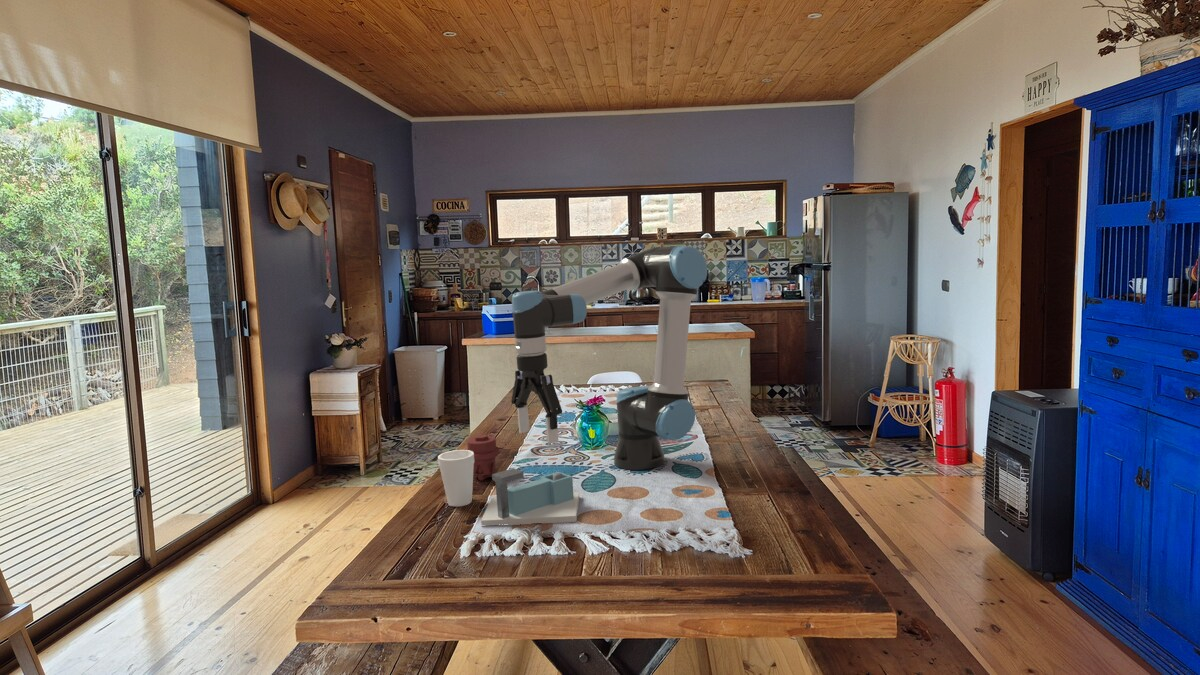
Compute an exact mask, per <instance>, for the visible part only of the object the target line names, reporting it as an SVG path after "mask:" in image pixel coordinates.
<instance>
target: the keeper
mask: <svg viewBox="0 0 1200 675" xmlns="http://www.w3.org/2000/svg"><path fill="white" fill-rule="evenodd" d="M491 478H492V481H493V482H495V493H496V495H495V496H497V508H498V517H500V518H502V519H504V518H507V517H510V516H509V503H508V490H507V489H508V483H511V482H514V481H518V480H522V479H524V471H521V470H519V469H516V468H509V469H506V470H503V471H499V472H495V474H492V476H491Z"/></svg>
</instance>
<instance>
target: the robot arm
mask: <svg viewBox="0 0 1200 675" xmlns="http://www.w3.org/2000/svg"><path fill="white" fill-rule="evenodd" d="M707 277H708V265H707V261H706V258H705V256H703V254H702V252H701V251H700V250H699V249H697V248H696V247H693V246H690V245H687V246H686V245H674V246H655V247H650V248H648V249H646V250H643V251H641V252H638V253H635V254H633V255H631V256H629V257H626V258H623V259H621V260H620V261H619V264H616V265H613V266H611V267H607V268H606V269H602V270H599V271H597V272H595V273H592V274H588V275H585V276H583V277H580V278H577V279H575V280H572V281H569V282H567V283H564V284H561V285H558V286H554V287H551V288H550V289H547V290H544V291H540V290H524V291H517V292H514V293H513V295H512V297H511V312H512V319H513V320H512V321H513V332H514V340H515V342H514V346H515V352H516V354H517V355H516V367H517V370H515V372H514V384H513V390H512V394H511V395H512V396H511V404H512V405H514V406H515V408H516V411H517V423H518V433H519V434H522V433H523V434H524V433H527V432H530V419H529V410H528V409H529V408H528V399H529V398H530V395H531V392H534V394H535V395H537V397H538V399H539V401H540V403H541V405H542V407H543V409H544V412H545V413H546V415H545V426H546V427H545V429H546V438H547V439H546V440H547V441H546V442H547V443H548V444H551V443H554V442H558V441H559V431H558V426H559V425H558V415H562V414H563V408H562V406H561V403H560V400H559V397H558V395H557V391H556V388H555V385H554V381H553V380H554V379H553V375H552V374H546V375H545V372H544V371H545V370H546V369H547V368H548V366H549V365H548V356H547V353H545V352H546V351H547V341H546V340H547V339H546V338H547V337H546V328H550V327H551V328H552V327H558V326H566V325H574V324H578V323H582V322H584V320H585V319H586V318H587V312H588V308H587V307H588V306H587V305H589V304H592V303H594V302H597V301H601V300H603V299H605V298H608V297H611V296H613V295H615V294H618V293H621V292H624V291H627V290H629V291H632V292H633V291H636V290H639V289H644V288H650V287H651V288H655V294H656V295H657V297H658V298H659V310H658V324H657V338H656V348H655V350H656V351H655V360H654V374H653V383H652V384H651V385H641V386H632V387H627V388H623V389H620V390H619V391H618V392H617V393H616V402H615V404H616V411H617V426H618V427H617V430H618V441H617V445H616V449H615V451H614V456H613V460H614V465H615V467H617V468H620V469H622V470H623V469H624V470H631V471H633V470H634V471H643V470H651V469H655V468H658V467H660V466H662V465H664V464H665V463H666V462H665V453H664V450H663V447H662V445H661V442H660V440H659V438H660V439H663V440H673V441H677V440H681V439H682V438H684V437H686V436H687V434H688V433H690V431H691V429H692V428H693V426H694V424H695V421H696V411H695V410H696V409H695V407H693V404H692V403H691V402H690V401H689V392H690V391H688V389H687V388H686V387H685V379H686V378H685V376H686V366H687V364H686V363H687V353H688V352H687V350H688V338H689V328H690V315H691V302H692V301H693V300H694V299H695V298H696V297H697V296H698V288H699V287H701V286H702V285H703V283H705V281H706V279H707Z"/></svg>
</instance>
